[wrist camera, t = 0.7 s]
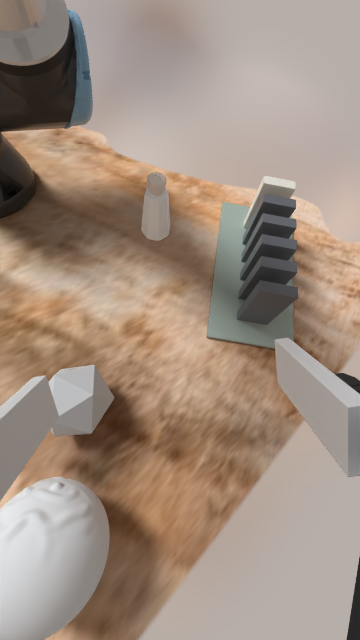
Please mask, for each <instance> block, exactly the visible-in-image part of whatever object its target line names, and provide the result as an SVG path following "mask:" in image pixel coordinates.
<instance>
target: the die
mask: <svg viewBox="0 0 360 640" xmlns="http://www.w3.org/2000/svg"><path fill="white" fill-rule="evenodd" d="M48 383H49V386H50V389H51V393H52V396H53V399H54V402H55V405H56V408H57V411H58V414H59V418H58V419H57V421H56V422H55V424H54V425H53V426H52V428H51V429H50V430H51V431H52V433H53V434H54V436H67V435H80V434H92V432H93V431H94V429H95V428H96V426H97V425H98V423H99V421H100V420H101V418H102V417H103V415H104V414H105V412H106V411H107V409H108V407H109V406H110V404H111V403H112V401H113V400H114V396H113V394H112V393H111V391H110V389H109V388H108V386H107V384H106V383H105V381H104V380H103V378H102V376H101V375H100V373H99V371H98V370H97V368H96V366H95V365H90V366H83V367H75V368H68V369H61V370H60V371H58V372H57V373H56V374H55V375H54V376H53V377H52V379H51V380H50V381H49V382H48Z"/></svg>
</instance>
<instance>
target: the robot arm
mask: <svg viewBox="0 0 360 640" xmlns="http://www.w3.org/2000/svg"><path fill="white" fill-rule="evenodd" d="M89 74H90V70H89V59H88V52H87V46H86V40H85V35H84V30H83V27H82V23H81V20H80V17H79V16H78V14H77V13H76V12H74V11H71V10H69V9H68V8H67V7H66V4H65V1H64V0H0V217H4V216H7V215H9V214H12V213H14V212H16V211H18V210H19V209H21V208H22V207H23V206H25V205H26V204H27V203H28V202H29V200H30V199H31V198H32V196H33V194H34V192H35V188H36V180H35V176H34V174H33V172H32V170H31V168H30V166H29V164H28V163H27V161H26V160H25V159H24V157H23V156H22V155H21V154H20V153H19V152H18V151H17V150H16V149H15V148H14V147H13V146H12V144H11V143H10V142H9V141H8V140H7V139H6V138H5V137H4V136H3V135H2V133H1V132H5V131H21V130H39V129H57V128H65V129H67V128H70V127H71V126H78V125H84V124H86V123H87V122H89V120H90V119H91V116H92V106H93V101H92V85H91V79H90V75H89ZM274 341H275V354H276V367H277V381H278V385H279V386H280V387H281V389H282V390H283V391H284V393H285V394H286V395H287V397H288V398H289V399H290V401H291V402H292V403H293V405H294V406H295V407H296V409H297V410H298V411H299V413H300V414H301V415H302V417H303V418H304V419H305V421H306V422H307V423H308V425H309V426H310V427H311V428H312V430H313V431H314V433H315V434H316V435H317V436H318V438H319V439H320V441H321V442H322V443H323V445H324V446H325V447H326V449H327V450H328V451H329V452H330V454H331V455H332V457H333V458H334V459H335V461H336V462H337V463H338V464H339V466H340V467H341V468H342V470H343V471H344V472H345V474H346V475H347V476H348V477H353V476H360V381H359V380H358V379H356V378H355V377H352V376H349V375H347V374H344V373H339V374H334V373H332V372H331V371H330V370H328V369H327V368H326V367H325V366H323V365H322V364H321V363H320V362H318V361H317V360H316V359H315V358H313V357H312V356H311V355H310V354H308V353H307V352H306V351H304V350H303V349H302V348H301V347H299V346H298V345H297V344H296V343H294V342H293V341H292V340H291V339H289V338H282V339H276V340H274ZM58 418H59V414H58V411H57V408H56V405H55V402H54V399H53V396H52V393H51V389H50V386H49V383H48V380H47V377H46V375H45V376H39V377H33V378H32V379H31V380H30V381H28V382H27V383H26V384H25V385H24V386H23V387H22V388H21V389H20V390H18V391H17V392H16V393H15V394H14V395H13V396H12V397H11V398H9V399H8V400H7V401H6V402H5V403H4V404H3V405H2V406H0V501H1V499H2V498H3V496H4V495H5V494H6V492H7V491H8V489H9V488H10V486H11V485H12V484H13V482H14V481H15V479H16V478H17V476H18V475H19V474H20V472H21V471H22V469H23V468H24V466H25V465H26V464H27V462H28V461H29V459H30V458H31V456H32V455H33V454H34V452H35V451H36V449H37V448H38V446H39V445H40V444H41V442H42V441H43V439H44V438H45V436H46V435H47V434H48V432H49V431H50V429H51V428H52V426H53V425H54V424H55V422H56V421H57V419H58ZM347 640H360V558H359V565H358V571H357V577H356V583H355V590H354V596H353V603H352V609H351V615H350V622H349V629H348V635H347Z"/></svg>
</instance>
